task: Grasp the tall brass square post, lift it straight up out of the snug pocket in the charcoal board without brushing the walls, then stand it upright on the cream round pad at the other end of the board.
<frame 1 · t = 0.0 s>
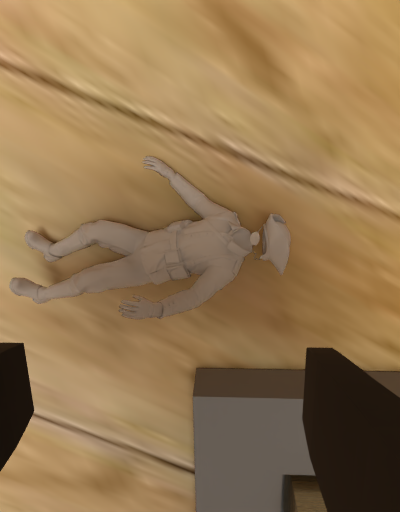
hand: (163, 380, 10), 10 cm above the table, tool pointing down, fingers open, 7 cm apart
soldier figure: (154, 241, 19), on the table
brass post: (319, 482, 22), resting on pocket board
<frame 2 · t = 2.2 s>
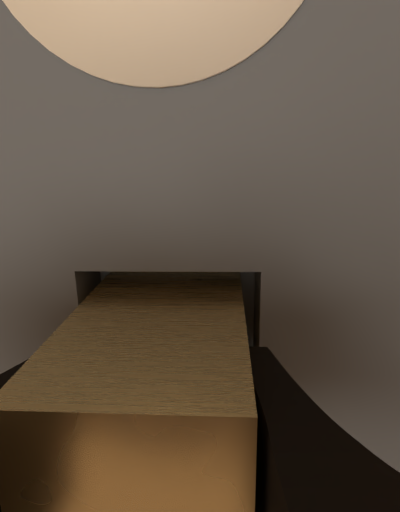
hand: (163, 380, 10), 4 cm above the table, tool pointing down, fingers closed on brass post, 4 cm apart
brass post: (178, 324, 13), resting on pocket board, touching gripper
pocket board: (175, 170, 12), on the table
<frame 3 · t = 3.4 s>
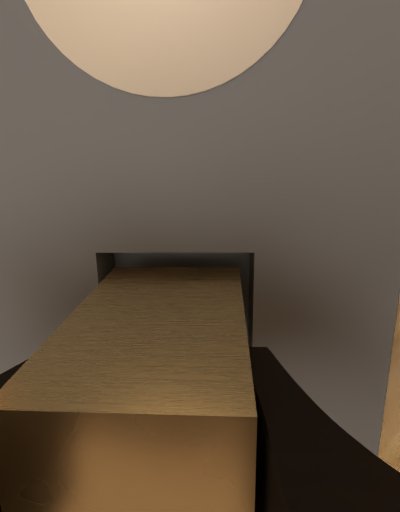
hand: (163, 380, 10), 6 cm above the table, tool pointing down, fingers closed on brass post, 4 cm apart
brass post: (178, 324, 13), point 2 cm above the table, touching gripper
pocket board: (180, 167, 14), on the table
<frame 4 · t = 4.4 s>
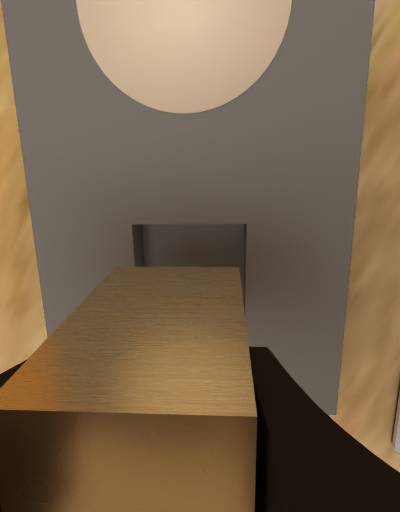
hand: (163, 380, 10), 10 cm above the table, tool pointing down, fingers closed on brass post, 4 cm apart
brass post: (178, 324, 13), point 7 cm above the table, touching gripper
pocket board: (192, 162, 18), on the table
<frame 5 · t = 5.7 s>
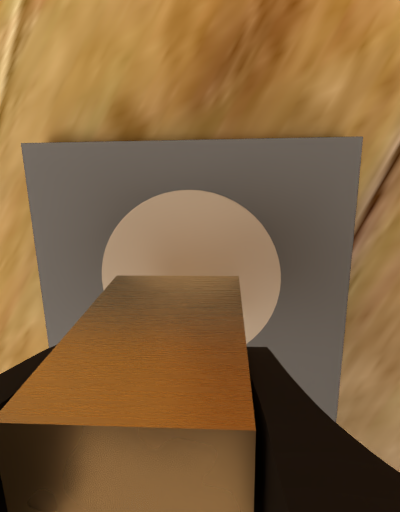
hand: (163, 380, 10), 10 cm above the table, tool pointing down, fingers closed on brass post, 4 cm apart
brass post: (179, 331, 13), point 7 cm above the table, touching gripper
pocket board: (196, 366, 21), on the table
when the fingers open (7 cm above the table, at t = 6.8 s): brass post stays where it is, resting on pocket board.
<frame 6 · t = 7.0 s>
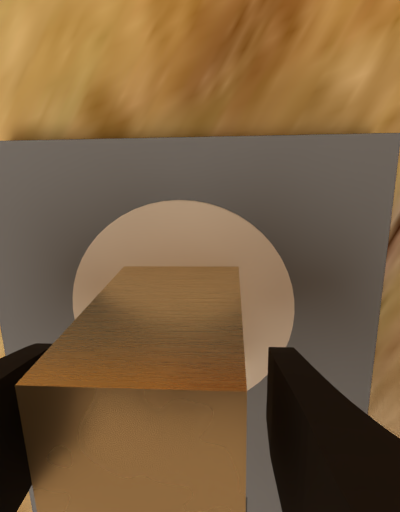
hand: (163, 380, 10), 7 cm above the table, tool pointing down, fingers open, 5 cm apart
brass post: (182, 319, 14), point 3 cm above the table, touching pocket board
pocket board: (191, 406, 18), on the table
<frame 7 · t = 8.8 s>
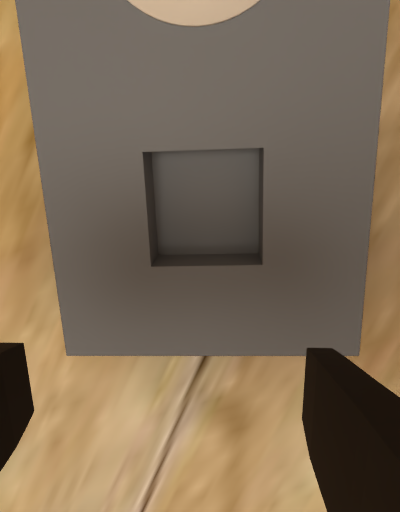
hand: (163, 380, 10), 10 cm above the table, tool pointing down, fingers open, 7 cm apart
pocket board: (203, 93, 17), on the table
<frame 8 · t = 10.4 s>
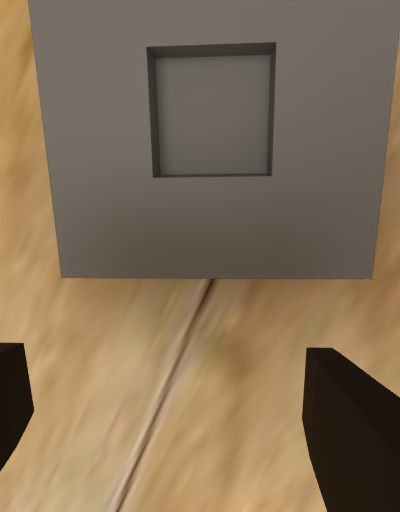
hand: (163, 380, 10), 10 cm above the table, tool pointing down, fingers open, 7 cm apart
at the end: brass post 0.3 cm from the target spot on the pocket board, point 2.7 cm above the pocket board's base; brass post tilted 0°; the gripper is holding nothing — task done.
